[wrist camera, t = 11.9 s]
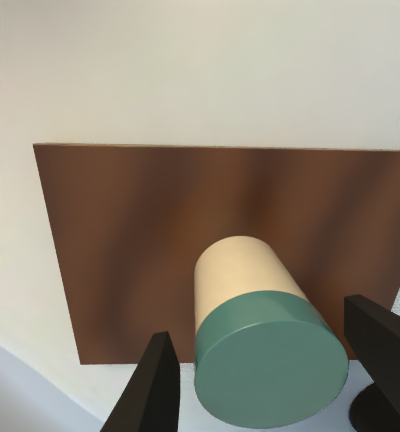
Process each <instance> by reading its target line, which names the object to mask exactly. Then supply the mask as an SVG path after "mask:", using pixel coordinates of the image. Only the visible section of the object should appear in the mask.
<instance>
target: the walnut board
mask: <svg viewBox="0 0 400 432" xmlns="http://www.w3.org/2000/svg"><path fill="white" fill-rule="evenodd" d="M33 148H34V153H35V158H36V162H37V167H38V171H39V176H40V181H41V185H42V190H43V194H44V199H45V203H46V208H47V213H48V217H49V222H50V226H51V231H52V236H53V240H54V245H55V249H56V254H57V259H58V263H59V268H60V272H61V277H62V282H63V286H64V291H65V295H66V300H67V305H68V309H69V314H70V318H71V323H72V327H73V332H74V337H75V341H76V346H77V350H78V355H79V360H80V364H81V365H91V364H138V363H139V361H140V359H141V357H142V355H143V353H144V351H145V349H146V347H147V345H148V343H149V341H150V339H151V337H152V335H153V334H154V333H159V332H164V331H168V332H169V335H170V338H171V341H172V344H173V347H174V349H175V352H176V355H177V358H178V361H179V363H194V341H195V307H194V271H195V267H196V263H197V261H198V259H199V258H200V256H201V255H202V254H203V252H204V251H205V250H206V249H207V248H209V247H210V246H211V245H213V244H214V243H216V242H218V241H220V240H222V239H225V238H228V237H233V236H248V237H253V238H256V239H259V240H261V241H263V242H265V243H266V244H268V245H269V246H270V247H271V248H272V249H273V250H274V251H275V253H276V254H277V255H278V257H279V258H280V260H281V261H282V263H283V264H284V265H285V267H286V268H287V270H288V271H289V272H290V274H291V275H292V277H293V278H294V280H295V281H296V282H297V284H298V285H299V287H300V288H301V289H302V291H303V292H304V294H305V295H306V297H307V298H308V299H309V301H310V302H311V304H312V305H313V306H314V307H315V308H316V309H317V310H318V311H319V313H320V314H321V315H322V317H323V318H324V320H325V321H326V322H327V324H328V325H329V327H330V328H331V329H332V331H333V332H334V334H335V335H336V336H337V338H338V339H339V341H340V342H341V343H342V345H343V346H344V348H345V350H346V353H347V356H348V360H358V358H357V356H356V355H355V353H354V352H353V350H352V348H351V347H350V345H349V343H348V342H347V340H346V338H345V337H344V297H346V296H351V295H357V294H361V295H362V296H364V297H366V298H368V299H370V300H372V301H373V302H375V303H377V304H379V305H380V306H382V307H384V308H386V309H388V310H389V311H391V309H392V307H393V304H394V301H395V299H396V296H397V294H398V291H399V288H400V150H375V149H326V148H278V147H230V146H182V145H134V144H85V143H36V144H33Z"/></svg>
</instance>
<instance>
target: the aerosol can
mask: <svg viewBox="0 0 400 432" xmlns="http://www.w3.org/2000/svg"><path fill="white" fill-rule="evenodd" d="M350 421H351V424H352V426H353V427H354V429H355V430H356V431H357V432H400V415H399V413H398V412H397V411H396V409H395V408H394V407H393V405H392V404H391V403H390V401H389V400H388V399H387V398H386V396H385V395H384V394H383V392H382V391H381V390H380V388H379V387H378V386H377V384H376V383H374V384H372V385H371V386H369V387H368V388H366V389H365V390H364V391H363V392H362V393H360V395H359V396H358V397H357V398H356V399H355V401H354V402H353V404H352V406H351V410H350Z"/></svg>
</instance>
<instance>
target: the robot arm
mask: <svg viewBox="0 0 400 432" xmlns="http://www.w3.org/2000/svg"><path fill="white" fill-rule="evenodd" d="M344 337H345V338H346V340H347V342H348V343H349V345H350V347H351V348H352V350H353V352H354V353H355V355H356V356H357V358H358V360H359V361H360V363H361V364H362V366H363V367H364V368H365V370H366V371H367V372H368V374H369V375H370V376H371V378H372V379H373V380H374V382H375V383H376V384H377V386H378V387H379V388H380V390H381V391H382V392H383V394H384V395H385V396H386V398H387V399H388V400H389V401H390V403H391V404H392V405H393V407H394V408H395V409H396V411H397V412H398V413H399V415H400V316H398V315H396V314H395V313H393V312H391V311H389V310H388V309H386V308H384V307H382V306H380V305H379V304H377V303H375V302H373V301H372V300H370V299H368V298H366V297H364V296H362V295H361V294H357V295H351V296H346V297H344ZM179 407H180V364H179V361H178V358H177V355H176V352H175V349H174V347H173V344H172V341H171V338H170V335H169V332H168V331H164V332H159V333H154V334H153V335H152V337H151V339H150V341H149V343H148V345H147V347H146V349H145V351H144V353H143V355H142V357H141V359H140V361H139V363H138V365H137V367H136V369H135V371H134V373H133V375H132V377H131V378H130V380H129V382H128V384H127V386H126V388H125V390H124V391H123V393H122V395H121V397H120V399H119V400H118V402H117V404H116V405H115V407H114V409H113V410H112V412H111V414H110V416H109V417H108V419H107V421H106V422H105V424H104V426H103V427H102V429H101V430H100V432H178V420H179Z"/></svg>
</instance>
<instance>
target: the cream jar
mask: <svg viewBox="0 0 400 432" xmlns="http://www.w3.org/2000/svg"><path fill="white" fill-rule="evenodd" d="M194 307H195V341H194V386H195V391H196V394H197V397H198V399H199V401H200V403H201V404H202V406H203V407H204V408H205V409H206V410H207V411H208V412H209V413H210V414H211V415H213V416H214V417H216V418H217V419H219V420H221V421H223V422H225V423H228V424H231V425H234V426H238V427H243V428H252V429H268V428H277V427H282V426H287V425H290V424H294V423H297V422H299V421H302V420H304V419H307V418H309V417H311V416H313V415H314V414H316V413H318V412H319V411H321V410H322V409H324V408H325V407H326V406H327V405H329V404H330V403H331V402H332V401H333V400H334V399H335V398H336V397H337V395H338V394H339V393H340V391H341V390H342V388H343V386H344V384H345V382H346V379H347V376H348V371H349V361H348V356H347V353H346V350H345V348H344V346H343V345H342V343H341V342H340V341H339V339H338V338H337V336H336V335H335V334H334V332H333V331H332V329H331V328H330V327H329V325H328V324H327V322H326V321H325V320H324V318H323V317H322V315H321V314H320V313H319V311H318V310H317V309H316V308H315V307H314V306H313V305H312V304H311V302H310V301H309V299H308V298H307V297H306V295H305V294H304V292H303V291H302V289H301V288H300V287H299V285H298V284H297V282H296V281H295V280H294V278H293V277H292V275H291V274H290V272H289V271H288V270H287V268H286V267H285V265H284V264H283V263H282V261H281V260H280V258H279V257H278V255H277V254H276V253H275V251H274V250H273V249H272V248H271V247H270V246H269V245H268V244H266V243H265V242H263V241H261V240H259V239H256V238H253V237H248V236H233V237H228V238H225V239H222V240H220V241H218V242H216V243H214V244H213V245H211V246H210V247H209V248H207V249H206V250H205V251H204V252H203V254H202V255H201V256H200V258H199V259H198V261H197V263H196V267H195V271H194Z"/></svg>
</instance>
